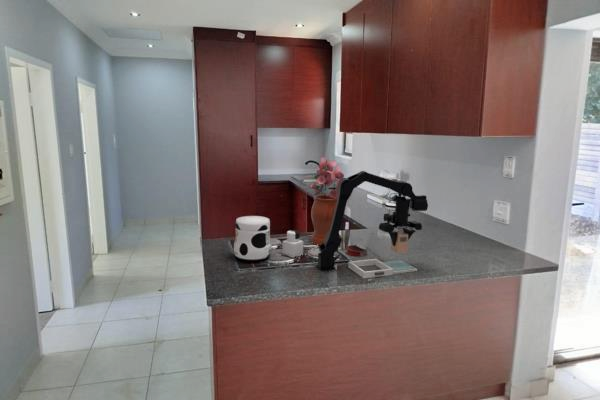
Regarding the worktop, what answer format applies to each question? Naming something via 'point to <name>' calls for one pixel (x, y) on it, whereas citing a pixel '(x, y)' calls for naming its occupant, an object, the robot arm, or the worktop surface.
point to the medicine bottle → (293, 243)
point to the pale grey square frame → (368, 274)
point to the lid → (400, 266)
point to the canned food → (356, 249)
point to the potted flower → (324, 200)
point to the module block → (400, 243)
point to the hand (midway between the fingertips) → (399, 245)
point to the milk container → (252, 238)
